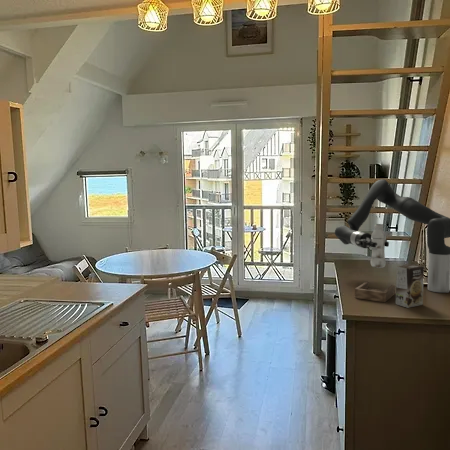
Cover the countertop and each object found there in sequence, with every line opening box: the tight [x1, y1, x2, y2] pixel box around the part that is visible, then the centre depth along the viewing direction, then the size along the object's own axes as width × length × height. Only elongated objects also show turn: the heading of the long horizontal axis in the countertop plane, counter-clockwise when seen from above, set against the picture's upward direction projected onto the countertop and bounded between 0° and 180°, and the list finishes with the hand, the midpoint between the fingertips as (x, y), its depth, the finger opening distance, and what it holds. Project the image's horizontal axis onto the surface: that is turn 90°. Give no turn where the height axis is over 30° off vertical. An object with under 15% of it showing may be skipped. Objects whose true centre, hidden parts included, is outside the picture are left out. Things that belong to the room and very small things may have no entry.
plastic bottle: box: [370, 223, 387, 269], centre depth 198 cm, size 6×7×20 cm
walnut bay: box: [354, 281, 396, 303], centre depth 191 cm, size 13×15×4 cm
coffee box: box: [395, 263, 425, 309], centre depth 177 cm, size 9×6×16 cm
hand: (381, 244), depth 196 cm, fingers closed on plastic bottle, 6 cm apart
